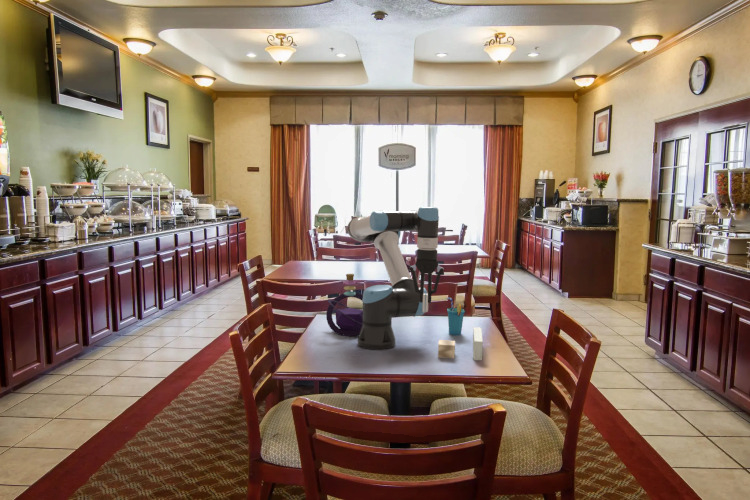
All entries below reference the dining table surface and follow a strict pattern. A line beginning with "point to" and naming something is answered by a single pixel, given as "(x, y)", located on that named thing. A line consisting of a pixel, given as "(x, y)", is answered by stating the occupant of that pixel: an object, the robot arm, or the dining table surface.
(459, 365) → the dining table surface
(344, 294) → the decorative bottle
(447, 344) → the birch block
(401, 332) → the dining table surface
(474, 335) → the board
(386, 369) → the dining table surface
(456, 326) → the cup
